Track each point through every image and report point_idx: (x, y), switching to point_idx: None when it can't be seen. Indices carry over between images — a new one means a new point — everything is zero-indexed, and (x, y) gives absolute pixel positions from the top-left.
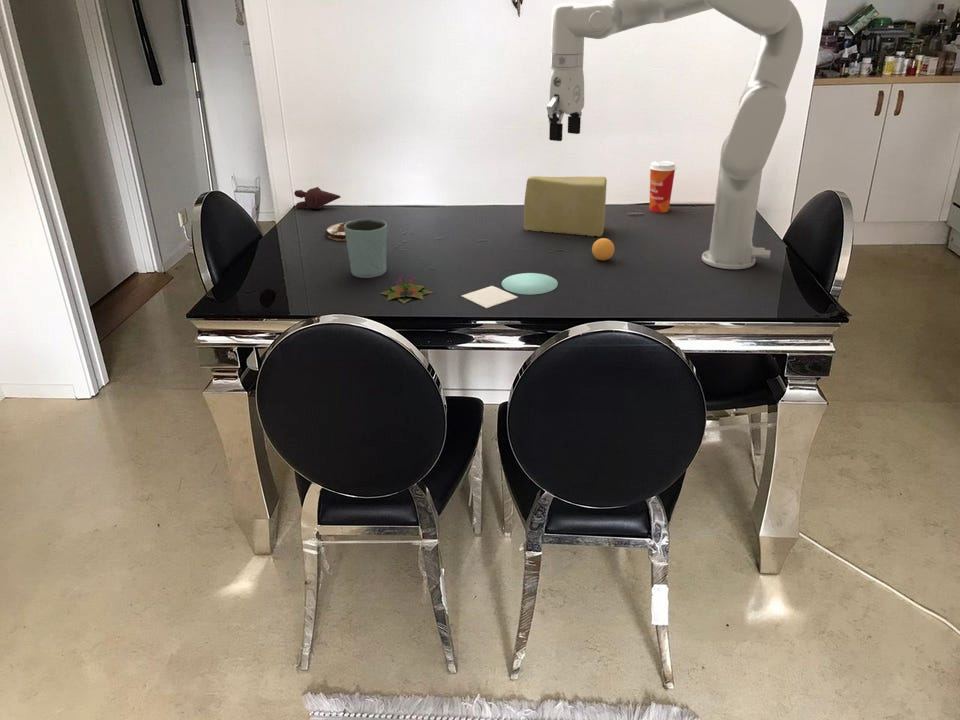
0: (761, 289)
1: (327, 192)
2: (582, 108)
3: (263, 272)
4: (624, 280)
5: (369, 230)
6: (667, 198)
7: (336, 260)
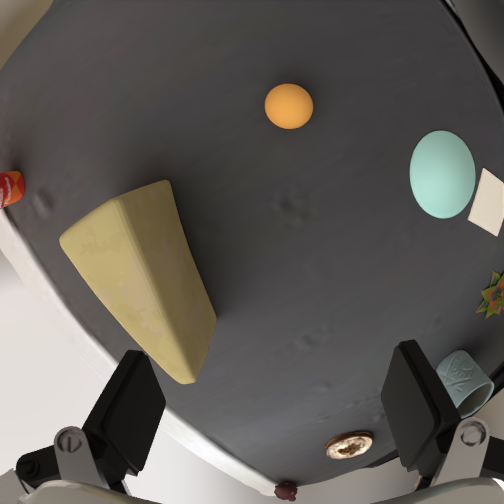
0: None
1: (281, 493)
2: (77, 490)
3: None
4: (357, 42)
5: None
6: (2, 173)
7: None
